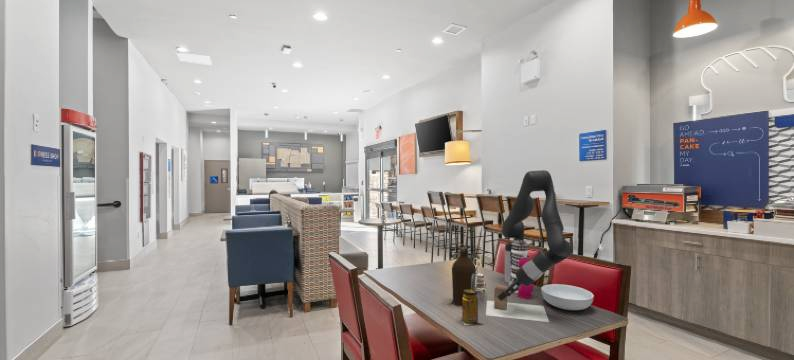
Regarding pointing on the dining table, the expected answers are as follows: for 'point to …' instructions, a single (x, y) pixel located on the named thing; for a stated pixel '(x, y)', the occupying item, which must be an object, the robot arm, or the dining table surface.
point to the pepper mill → (523, 290)
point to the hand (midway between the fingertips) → (500, 295)
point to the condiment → (470, 308)
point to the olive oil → (462, 276)
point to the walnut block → (497, 303)
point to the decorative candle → (517, 256)
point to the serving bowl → (567, 296)
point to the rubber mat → (518, 311)
